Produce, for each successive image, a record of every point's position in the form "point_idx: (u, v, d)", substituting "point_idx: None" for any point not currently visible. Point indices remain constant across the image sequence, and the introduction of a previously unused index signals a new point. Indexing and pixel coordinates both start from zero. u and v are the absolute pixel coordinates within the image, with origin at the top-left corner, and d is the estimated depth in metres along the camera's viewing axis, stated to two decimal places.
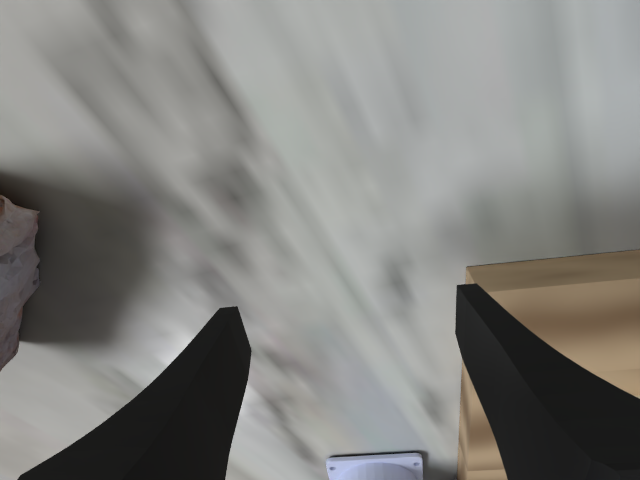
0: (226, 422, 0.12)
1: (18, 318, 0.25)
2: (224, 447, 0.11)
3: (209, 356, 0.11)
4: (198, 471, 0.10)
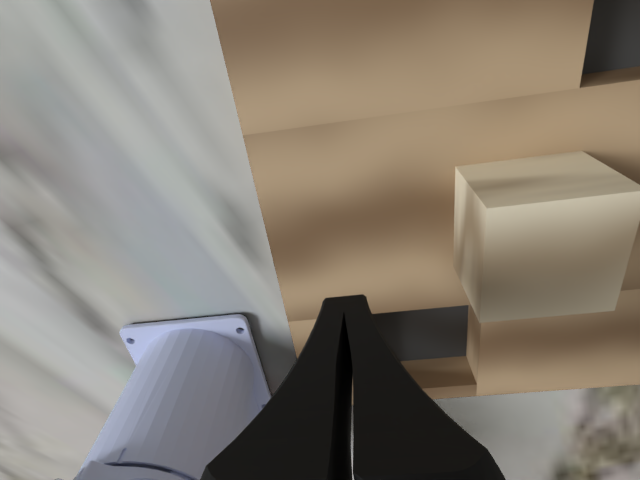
0: (348, 414, 0.11)
1: None
2: (348, 439, 0.11)
3: (339, 345, 0.10)
4: (345, 463, 0.09)
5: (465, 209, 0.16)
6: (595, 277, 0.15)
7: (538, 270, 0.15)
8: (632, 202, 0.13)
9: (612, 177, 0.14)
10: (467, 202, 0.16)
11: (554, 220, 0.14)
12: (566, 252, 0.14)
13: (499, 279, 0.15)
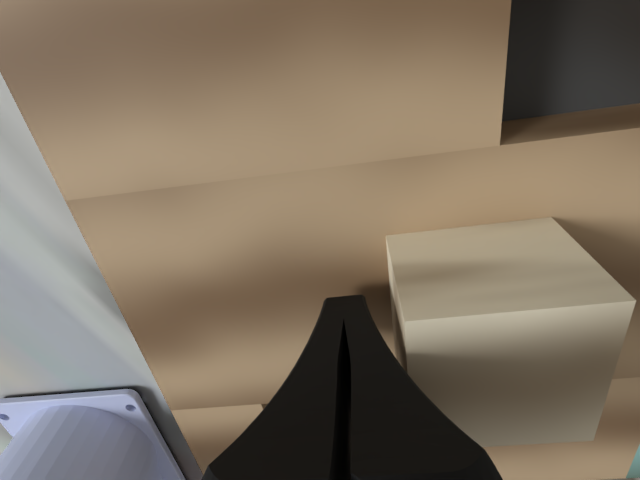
0: (349, 414, 0.11)
1: None
2: (350, 439, 0.11)
3: (340, 345, 0.10)
4: (346, 463, 0.09)
5: (394, 297, 0.12)
6: (565, 403, 0.11)
7: (485, 394, 0.10)
8: (613, 316, 0.09)
9: (586, 271, 0.10)
10: (394, 291, 0.12)
11: (501, 337, 0.09)
12: (523, 373, 0.10)
13: None
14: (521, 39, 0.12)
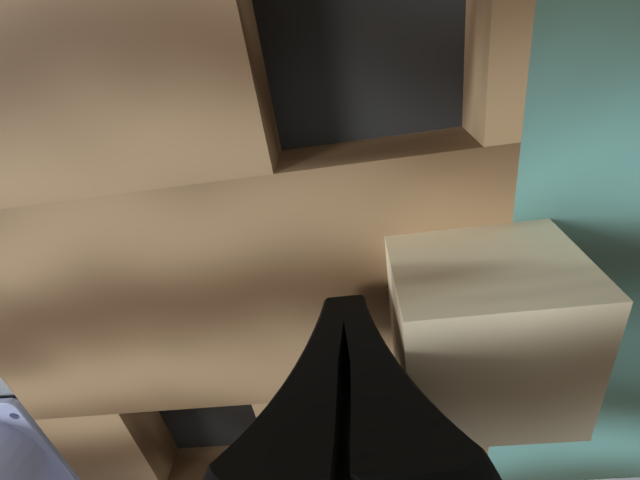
0: (349, 414, 0.11)
1: None
2: (350, 439, 0.11)
3: (340, 345, 0.10)
4: (346, 463, 0.09)
5: (393, 298, 0.12)
6: (562, 404, 0.11)
7: (483, 394, 0.10)
8: (610, 316, 0.09)
9: (584, 272, 0.10)
10: (393, 292, 0.12)
11: (500, 337, 0.10)
12: (521, 374, 0.10)
13: None
14: (305, 71, 0.12)
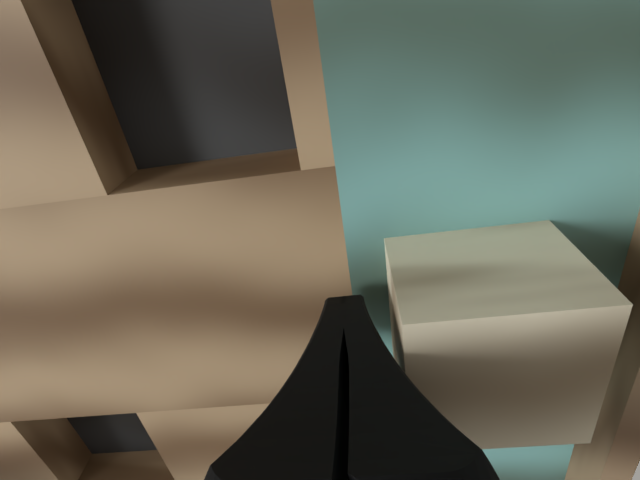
0: None
1: None
2: None
3: (341, 345, 0.10)
4: (348, 463, 0.09)
5: (392, 300, 0.12)
6: (562, 406, 0.11)
7: (482, 396, 0.10)
8: (610, 319, 0.09)
9: (584, 274, 0.10)
10: (392, 294, 0.12)
11: (499, 340, 0.09)
12: (521, 377, 0.10)
13: None
14: (145, 95, 0.13)
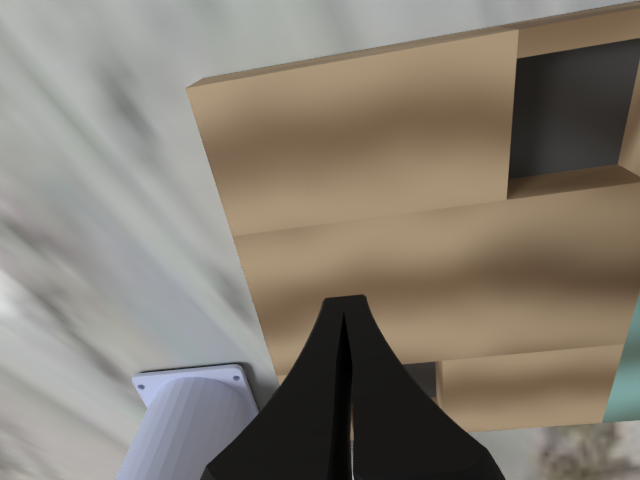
0: (347, 414, 0.11)
1: None
2: (348, 439, 0.11)
3: (339, 345, 0.10)
4: (345, 463, 0.09)
5: None
6: None
7: None
8: None
9: None
10: None
11: None
12: None
13: None
14: (518, 131, 0.19)
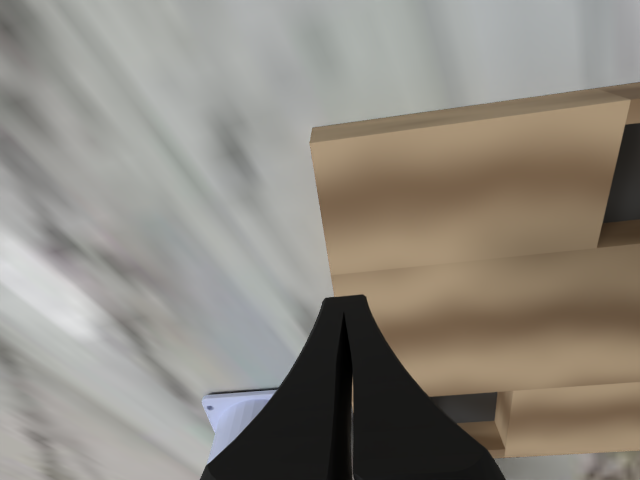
0: (347, 414, 0.11)
1: None
2: (348, 439, 0.11)
3: (339, 345, 0.10)
4: (345, 463, 0.09)
5: None
6: None
7: None
8: None
9: None
10: None
11: None
12: None
13: None
14: None
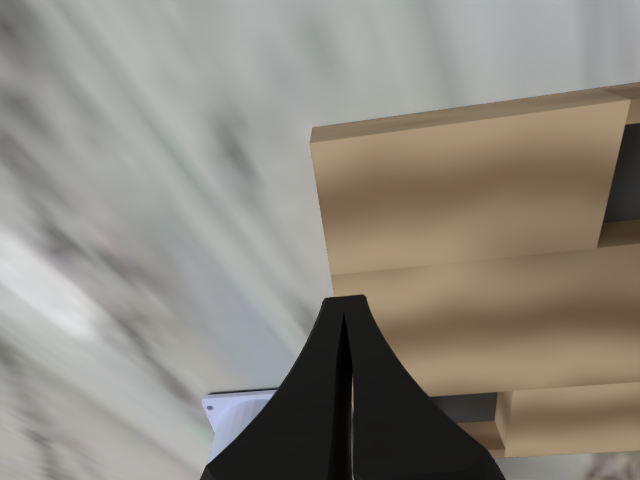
0: (347, 414, 0.11)
1: None
2: (348, 439, 0.11)
3: (339, 345, 0.10)
4: (345, 463, 0.09)
5: None
6: None
7: None
8: None
9: None
10: None
11: None
12: None
13: None
14: None
